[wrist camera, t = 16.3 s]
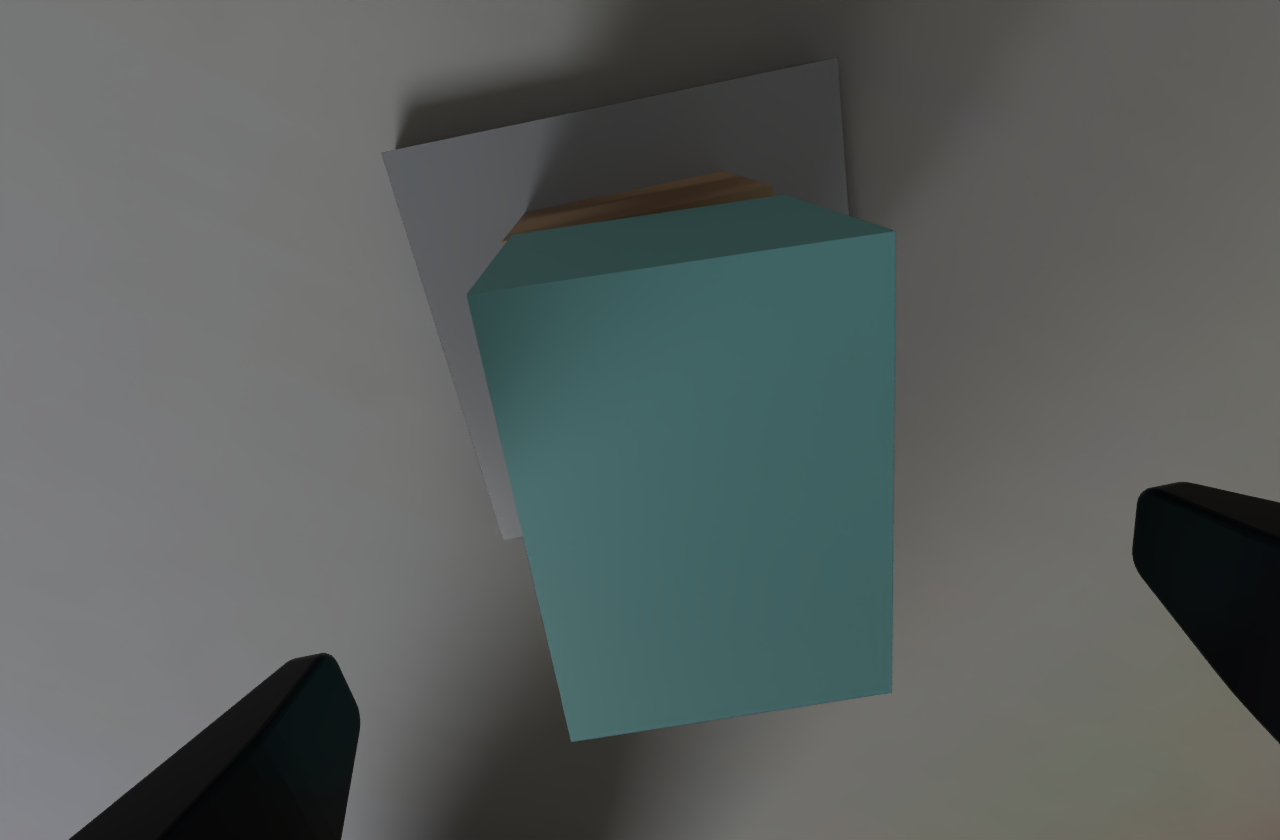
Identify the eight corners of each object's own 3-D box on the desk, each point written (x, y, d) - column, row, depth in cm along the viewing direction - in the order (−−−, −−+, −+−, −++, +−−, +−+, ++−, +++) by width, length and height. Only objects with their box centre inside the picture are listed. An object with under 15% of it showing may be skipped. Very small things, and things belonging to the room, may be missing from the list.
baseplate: (507, 520, 22) (503, 540, 21) (394, 150, 18) (380, 152, 17) (852, 450, 22) (866, 467, 21) (822, 62, 17) (837, 57, 16)
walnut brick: (587, 460, 20) (585, 560, 15) (525, 212, 17) (501, 241, 13) (758, 426, 20) (809, 515, 15) (723, 171, 17) (772, 185, 13)
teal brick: (577, 558, 15) (571, 742, 11) (511, 234, 13) (466, 294, 8) (801, 523, 15) (892, 692, 11) (784, 194, 13) (895, 230, 8)
